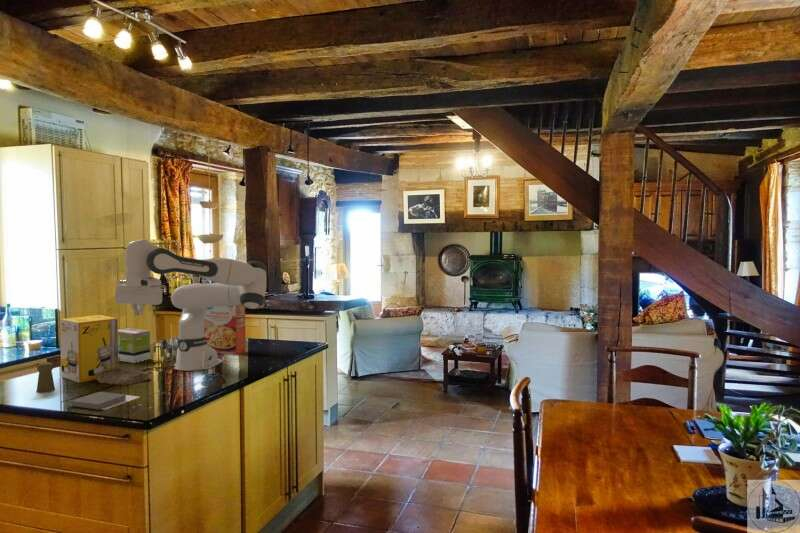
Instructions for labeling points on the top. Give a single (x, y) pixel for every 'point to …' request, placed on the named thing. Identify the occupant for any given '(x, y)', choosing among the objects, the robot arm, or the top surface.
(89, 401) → the slate tile
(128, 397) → the beige mat
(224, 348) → the pasta box
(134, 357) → the tea box
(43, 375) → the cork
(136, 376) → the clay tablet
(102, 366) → the packaging box
